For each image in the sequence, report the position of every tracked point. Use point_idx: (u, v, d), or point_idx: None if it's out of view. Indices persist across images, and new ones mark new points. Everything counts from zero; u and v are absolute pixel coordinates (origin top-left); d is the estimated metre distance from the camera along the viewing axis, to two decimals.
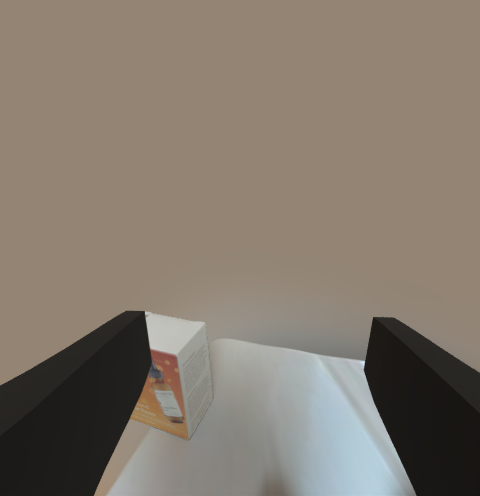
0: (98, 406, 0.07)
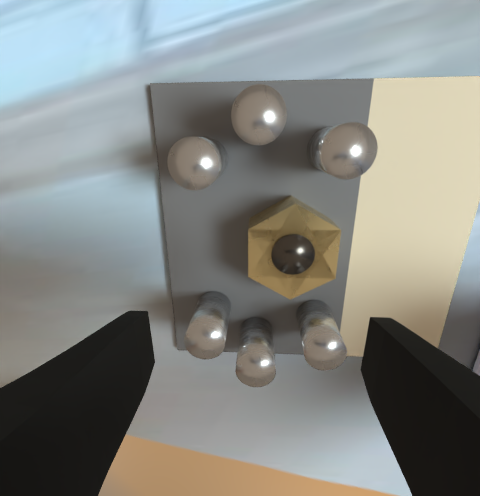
0: (102, 406, 0.07)
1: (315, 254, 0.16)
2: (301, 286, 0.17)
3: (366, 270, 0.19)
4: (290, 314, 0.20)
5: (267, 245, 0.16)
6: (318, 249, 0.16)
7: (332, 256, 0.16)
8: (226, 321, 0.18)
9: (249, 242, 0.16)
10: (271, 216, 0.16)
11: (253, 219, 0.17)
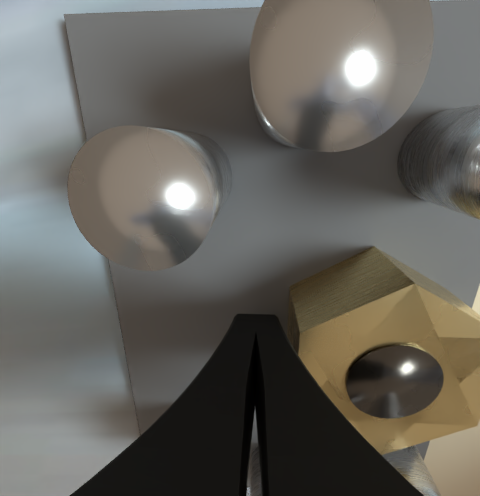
0: (249, 413, 0.07)
1: (442, 382, 0.07)
2: (401, 437, 0.08)
3: None
4: None
5: (339, 364, 0.07)
6: (450, 373, 0.07)
7: (479, 387, 0.07)
8: None
9: (300, 357, 0.07)
10: (353, 307, 0.07)
11: (301, 295, 0.09)
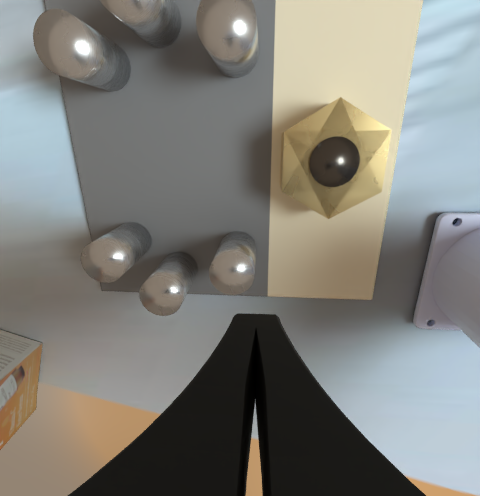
0: (248, 413, 0.07)
1: (360, 161, 0.14)
2: (341, 203, 0.15)
3: (289, 196, 0.17)
4: (214, 248, 0.19)
5: (305, 151, 0.14)
6: (363, 154, 0.14)
7: (379, 164, 0.14)
8: (134, 246, 0.17)
9: (285, 148, 0.14)
10: (311, 115, 0.14)
11: (287, 129, 0.15)
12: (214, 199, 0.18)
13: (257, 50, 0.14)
